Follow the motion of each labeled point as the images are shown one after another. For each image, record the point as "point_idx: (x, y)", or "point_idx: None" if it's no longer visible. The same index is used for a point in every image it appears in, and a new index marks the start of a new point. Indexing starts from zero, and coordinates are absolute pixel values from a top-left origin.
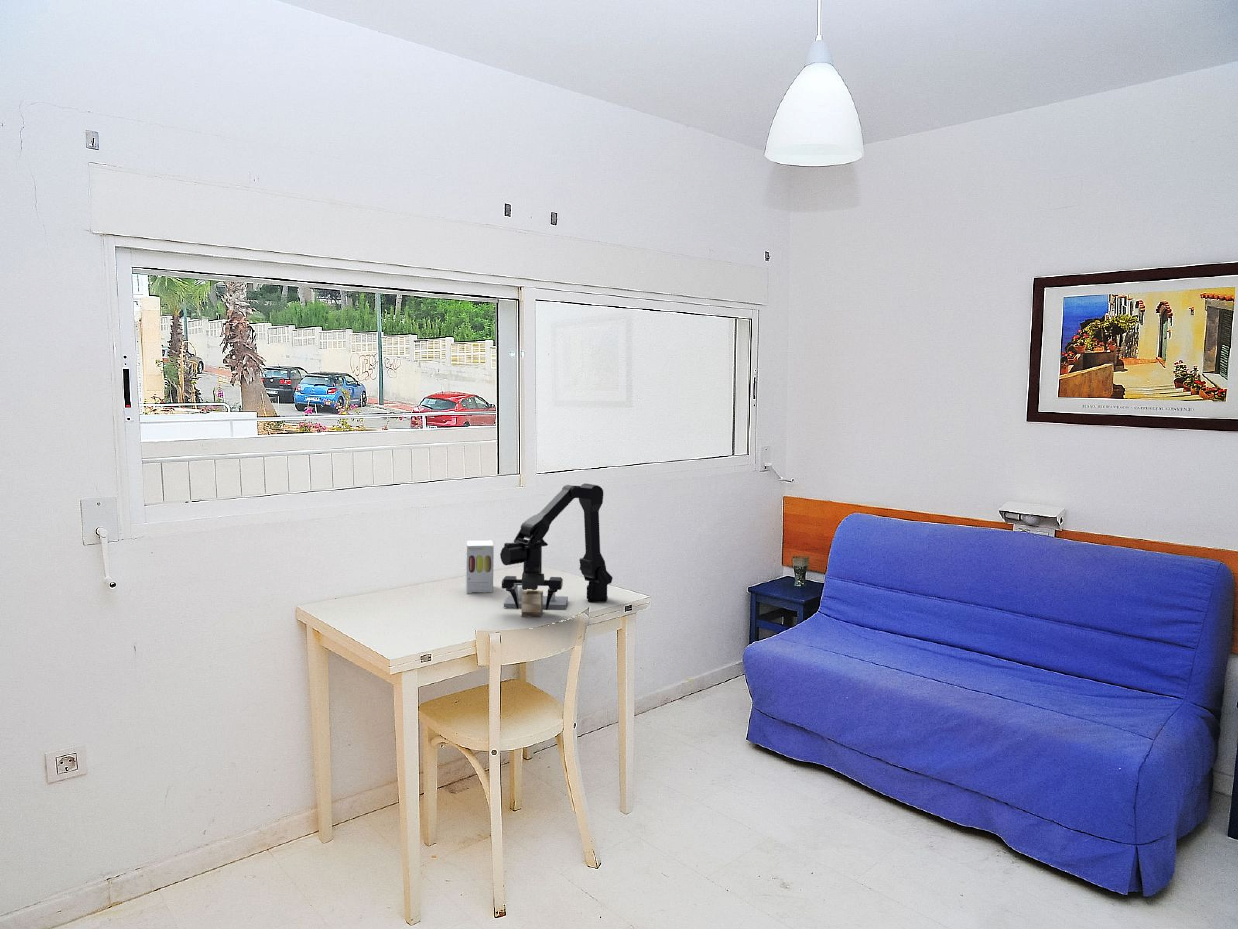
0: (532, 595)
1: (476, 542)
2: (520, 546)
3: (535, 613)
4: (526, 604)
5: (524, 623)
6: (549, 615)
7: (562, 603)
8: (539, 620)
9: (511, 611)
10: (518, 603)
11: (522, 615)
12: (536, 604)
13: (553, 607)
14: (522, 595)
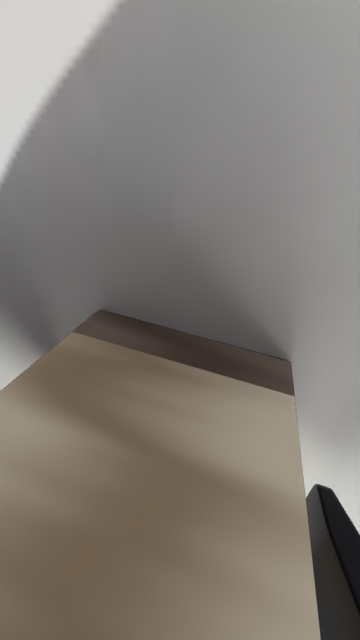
0: (4, 635)
1: None
2: None
3: (132, 341)
4: (217, 460)
5: (310, 47)
6: (34, 342)
7: None
8: (101, 196)
9: (353, 517)
10: (314, 567)
11: (280, 366)
12: (60, 411)
13: None
14: None
